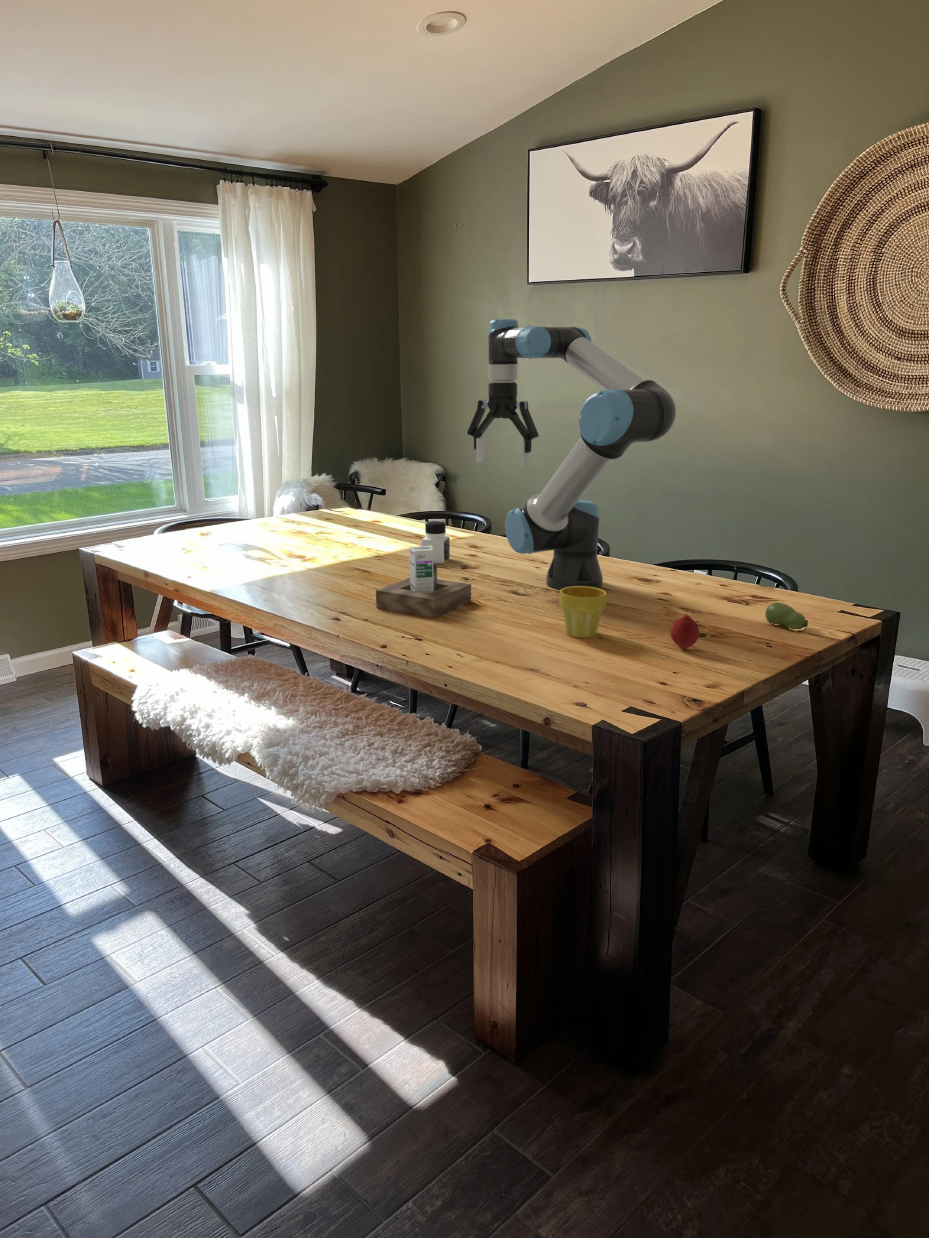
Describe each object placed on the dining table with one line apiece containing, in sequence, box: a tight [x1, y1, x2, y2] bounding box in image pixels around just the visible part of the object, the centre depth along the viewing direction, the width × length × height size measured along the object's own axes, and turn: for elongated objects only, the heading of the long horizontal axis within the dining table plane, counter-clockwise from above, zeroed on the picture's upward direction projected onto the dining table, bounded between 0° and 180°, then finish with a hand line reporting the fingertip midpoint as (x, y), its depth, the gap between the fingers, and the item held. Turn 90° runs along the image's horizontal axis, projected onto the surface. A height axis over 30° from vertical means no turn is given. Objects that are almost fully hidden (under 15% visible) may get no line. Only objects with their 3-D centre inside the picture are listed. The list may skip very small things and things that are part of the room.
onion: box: [670, 612, 700, 650], centre depth 187 cm, size 6×6×8 cm
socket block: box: [375, 577, 472, 619], centre depth 222 cm, size 17×17×4 cm
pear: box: [764, 601, 809, 629], centre depth 204 cm, size 6×5×10 cm
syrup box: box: [408, 545, 438, 593], centre depth 221 cm, size 6×6×14 cm
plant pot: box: [558, 586, 608, 639], centre depth 198 cm, size 10×10×10 cm
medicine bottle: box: [420, 520, 451, 564], centre depth 268 cm, size 7×7×12 cm
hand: (502, 463), depth 239 cm, fingers open, 13 cm apart
